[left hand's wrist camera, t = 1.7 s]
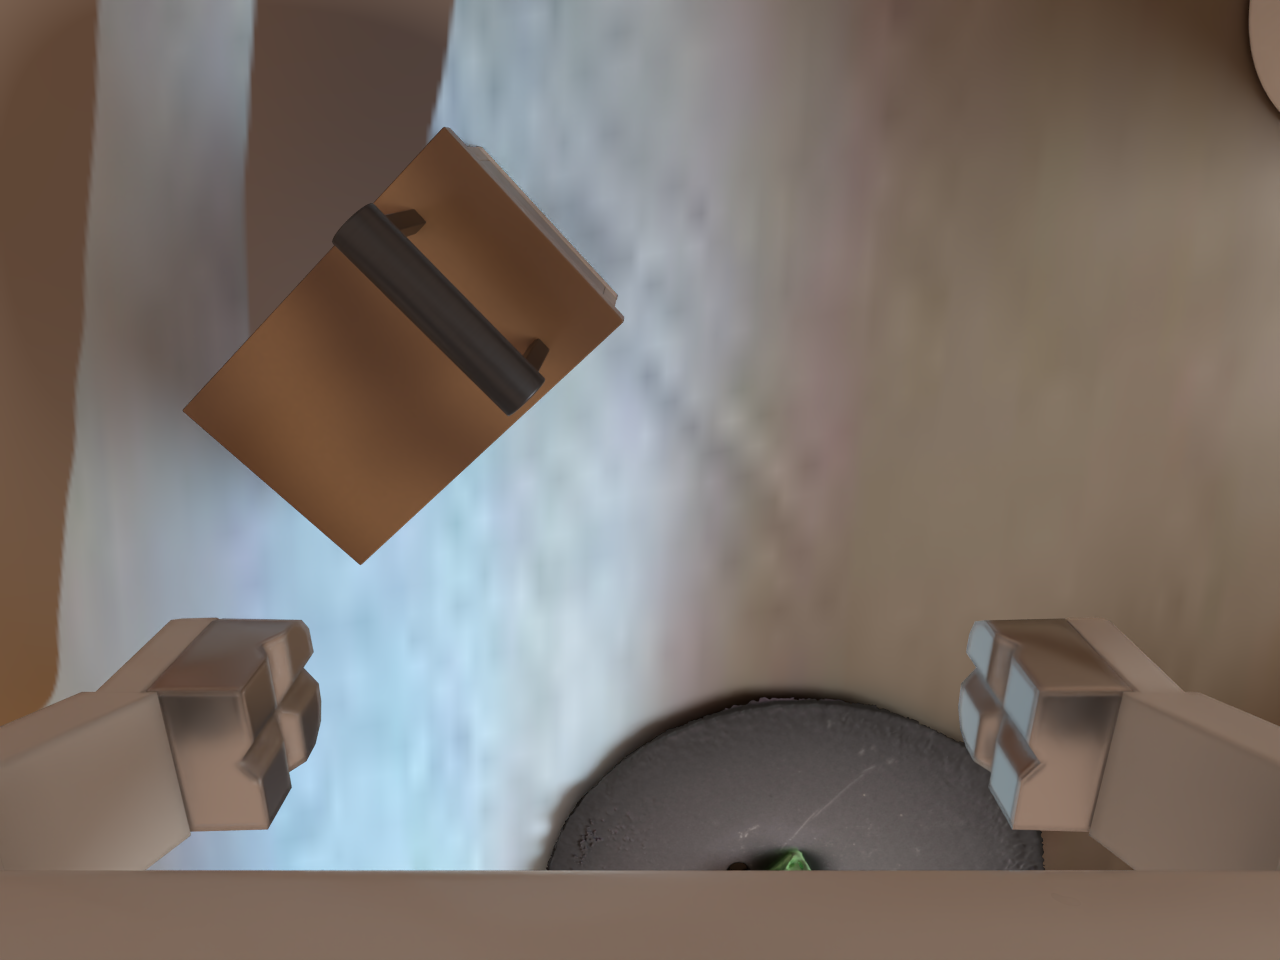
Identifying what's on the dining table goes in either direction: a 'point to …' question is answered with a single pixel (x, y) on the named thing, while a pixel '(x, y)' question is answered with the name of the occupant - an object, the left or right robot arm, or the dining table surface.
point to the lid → (405, 350)
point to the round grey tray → (795, 798)
